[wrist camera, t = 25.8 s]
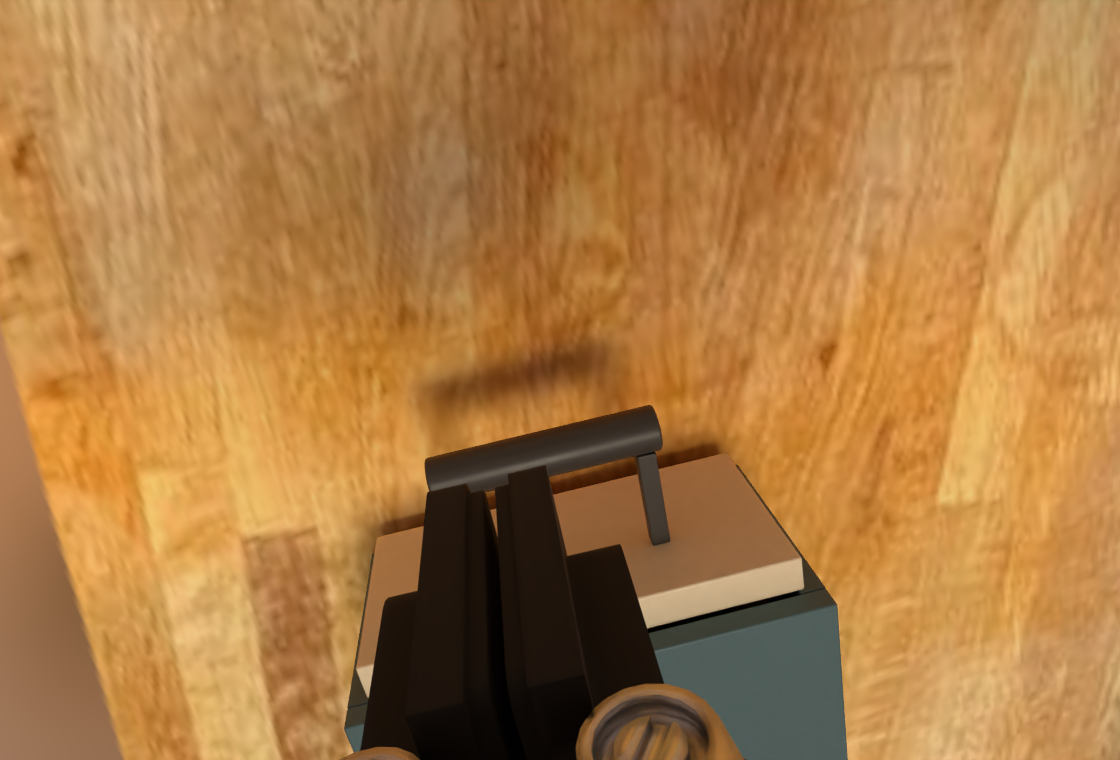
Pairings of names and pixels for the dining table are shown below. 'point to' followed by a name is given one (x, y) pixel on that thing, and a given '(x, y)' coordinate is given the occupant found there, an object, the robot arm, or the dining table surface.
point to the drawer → (620, 523)
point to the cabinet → (744, 673)
